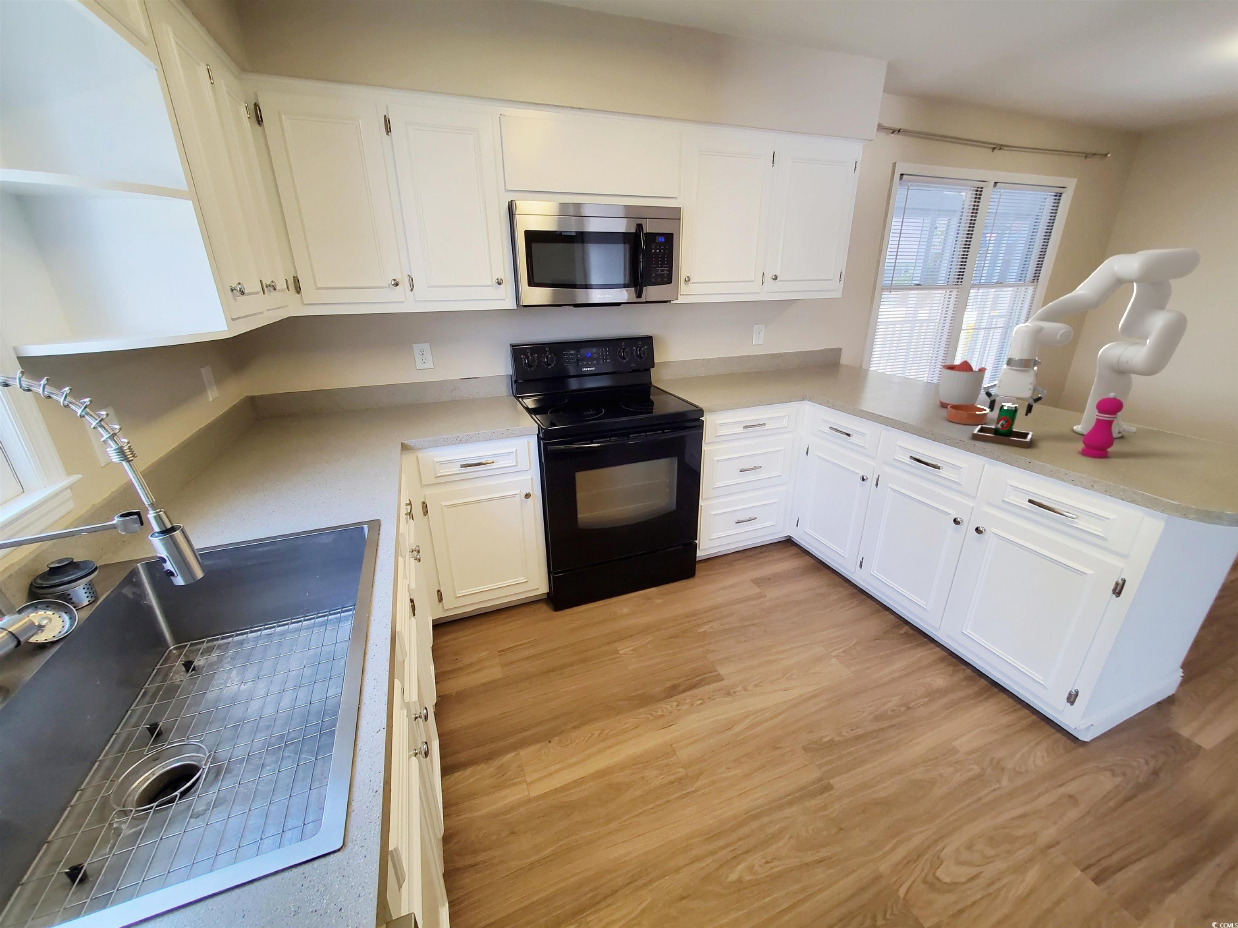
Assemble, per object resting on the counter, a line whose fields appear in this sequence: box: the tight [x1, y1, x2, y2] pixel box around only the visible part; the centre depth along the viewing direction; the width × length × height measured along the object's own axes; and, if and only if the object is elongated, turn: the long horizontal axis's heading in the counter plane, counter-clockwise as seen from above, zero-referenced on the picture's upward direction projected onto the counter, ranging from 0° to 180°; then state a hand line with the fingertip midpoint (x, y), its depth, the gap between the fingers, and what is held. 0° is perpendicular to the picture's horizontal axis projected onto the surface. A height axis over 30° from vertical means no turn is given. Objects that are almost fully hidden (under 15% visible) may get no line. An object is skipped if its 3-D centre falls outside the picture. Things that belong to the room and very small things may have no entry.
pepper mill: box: [1080, 393, 1123, 459], centre depth 153 cm, size 7×7×20 cm
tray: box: [971, 424, 1034, 449], centre depth 172 cm, size 16×12×3 cm
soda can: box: [993, 402, 1019, 438], centre depth 170 cm, size 5×5×12 cm
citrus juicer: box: [938, 359, 987, 409], centre depth 210 cm, size 16×17×20 cm
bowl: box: [945, 404, 990, 426], centre depth 193 cm, size 13×13×5 cm
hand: (1008, 413), depth 169 cm, fingers open, 9 cm apart
